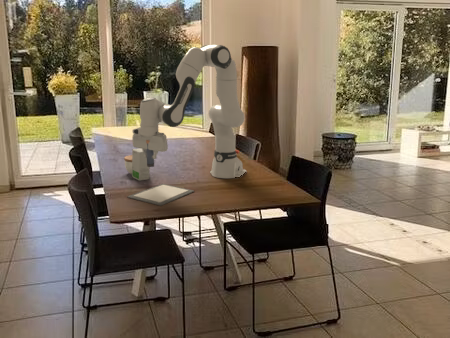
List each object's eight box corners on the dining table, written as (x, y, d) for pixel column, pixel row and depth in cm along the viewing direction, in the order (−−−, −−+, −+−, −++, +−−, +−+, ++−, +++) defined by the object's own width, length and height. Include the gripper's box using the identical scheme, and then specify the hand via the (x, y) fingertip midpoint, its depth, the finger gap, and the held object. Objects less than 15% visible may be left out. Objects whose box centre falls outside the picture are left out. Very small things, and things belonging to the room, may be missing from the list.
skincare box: (131, 177, 253) (131, 149, 249) (142, 175, 257) (142, 147, 253) (139, 180, 246) (139, 152, 242) (150, 178, 251) (150, 150, 247)
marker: (150, 164, 239) (149, 138, 235) (155, 165, 237) (155, 139, 233) (145, 166, 235) (144, 140, 232) (151, 167, 234) (150, 140, 230)
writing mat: (162, 184, 241) (162, 183, 240) (194, 191, 231) (194, 190, 230) (127, 197, 219) (127, 195, 219) (160, 205, 209) (160, 203, 209)
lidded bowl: (142, 177, 254) (142, 157, 251) (120, 175, 256) (120, 155, 253) (150, 171, 266) (150, 152, 263) (130, 169, 268) (129, 150, 265)
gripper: (170, 132, 229) (170, 159, 232) (138, 127, 239) (139, 154, 243) (161, 134, 224) (162, 162, 227) (129, 129, 234) (131, 156, 237)
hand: (150, 158), depth 235 cm, fingers closed on marker, 4 cm apart
